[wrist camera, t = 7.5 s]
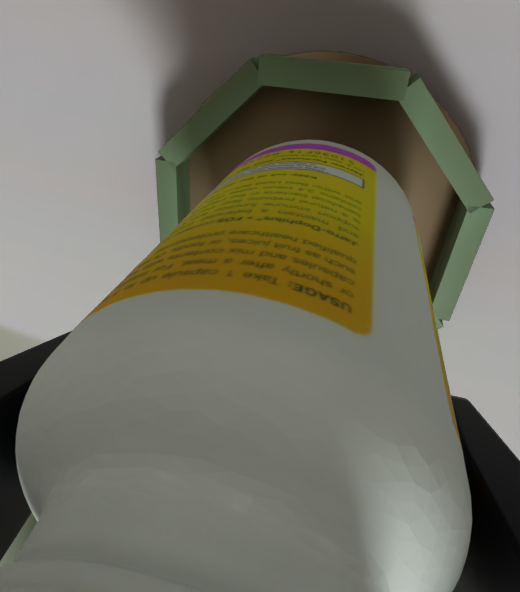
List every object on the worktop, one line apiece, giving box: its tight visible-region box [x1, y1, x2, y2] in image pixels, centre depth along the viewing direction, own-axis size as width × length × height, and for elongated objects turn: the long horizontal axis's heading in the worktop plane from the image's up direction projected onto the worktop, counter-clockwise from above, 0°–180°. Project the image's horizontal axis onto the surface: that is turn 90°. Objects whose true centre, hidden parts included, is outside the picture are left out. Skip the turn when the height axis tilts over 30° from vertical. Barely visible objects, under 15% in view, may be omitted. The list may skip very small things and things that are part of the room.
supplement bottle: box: [0, 140, 472, 592], centre depth 9 cm, size 7×7×13 cm
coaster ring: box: [155, 52, 494, 329], centre depth 15 cm, size 11×11×2 cm
